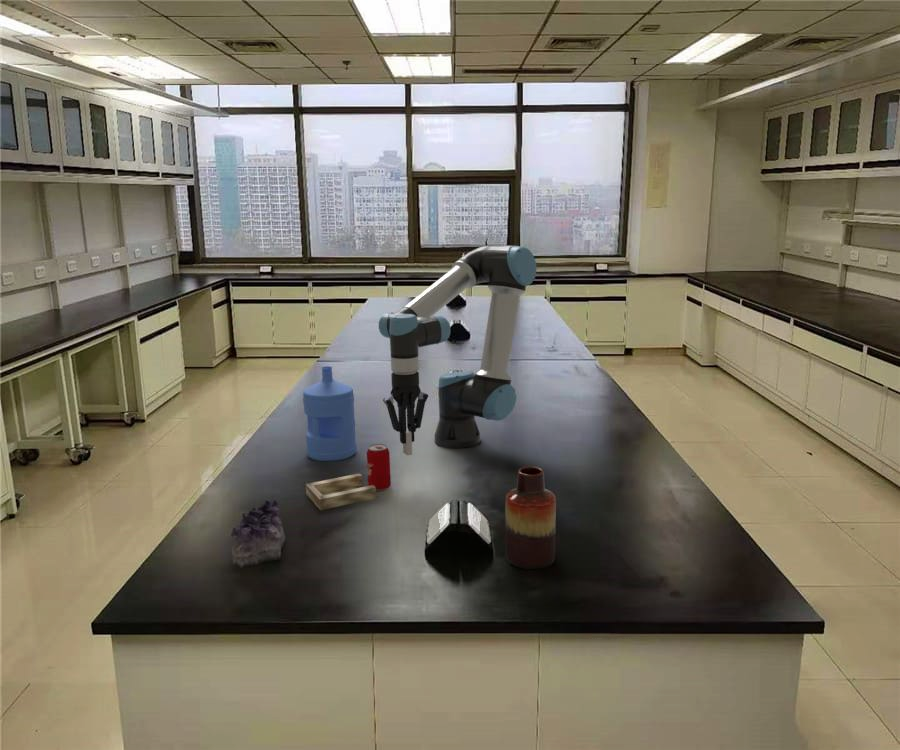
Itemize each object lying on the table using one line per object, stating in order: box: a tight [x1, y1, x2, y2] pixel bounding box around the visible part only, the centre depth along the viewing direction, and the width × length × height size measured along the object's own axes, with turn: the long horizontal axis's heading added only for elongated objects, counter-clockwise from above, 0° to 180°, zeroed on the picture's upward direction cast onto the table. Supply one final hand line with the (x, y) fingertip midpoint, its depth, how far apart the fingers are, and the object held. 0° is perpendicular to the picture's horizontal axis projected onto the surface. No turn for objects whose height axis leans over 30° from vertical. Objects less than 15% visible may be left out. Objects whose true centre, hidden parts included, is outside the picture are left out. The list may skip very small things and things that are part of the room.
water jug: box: [302, 365, 357, 462], centre depth 221 cm, size 16×16×28 cm
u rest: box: [305, 473, 377, 511], centre depth 190 cm, size 16×12×3 cm
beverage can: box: [366, 443, 392, 492], centre depth 194 cm, size 6×6×12 cm
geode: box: [230, 499, 287, 569], centre depth 161 cm, size 20×12×10 cm, turn 6°
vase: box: [505, 466, 557, 570], centre depth 153 cm, size 11×11×20 cm
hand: (407, 453), depth 198 cm, fingers closed
